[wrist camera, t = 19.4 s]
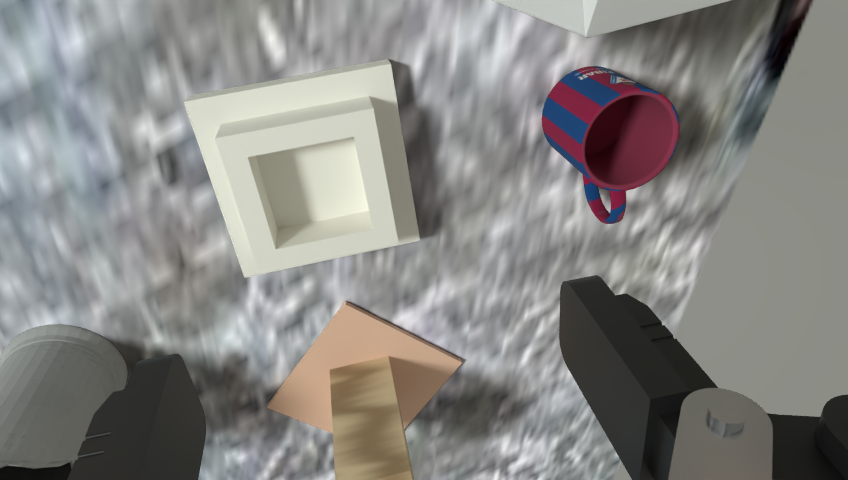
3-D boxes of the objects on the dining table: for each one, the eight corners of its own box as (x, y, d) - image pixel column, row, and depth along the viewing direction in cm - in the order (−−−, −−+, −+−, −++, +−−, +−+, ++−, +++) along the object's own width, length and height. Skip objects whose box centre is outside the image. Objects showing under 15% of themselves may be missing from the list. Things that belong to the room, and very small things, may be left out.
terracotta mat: (267, 403, 50) (267, 407, 50) (345, 301, 47) (345, 304, 46) (382, 449, 55) (383, 453, 55) (461, 359, 52) (462, 362, 51)
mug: (637, 66, 42) (691, 88, 36) (610, 195, 47) (655, 234, 41) (548, 65, 41) (589, 88, 35) (530, 198, 46) (563, 238, 40)
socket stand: (246, 267, 44) (240, 300, 40) (188, 95, 38) (174, 115, 34) (416, 231, 45) (427, 260, 41) (387, 59, 39) (397, 73, 35)
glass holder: (134, 335, 45) (65, 502, 32) (112, 467, 51) (44, 656, 38) (3, 315, 42) (-131, 487, 29) (-6, 457, 48) (-122, 655, 35)
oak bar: (342, 413, 52) (351, 536, 41) (329, 369, 49) (336, 489, 39) (398, 399, 52) (421, 518, 42) (388, 355, 50) (410, 470, 39)
